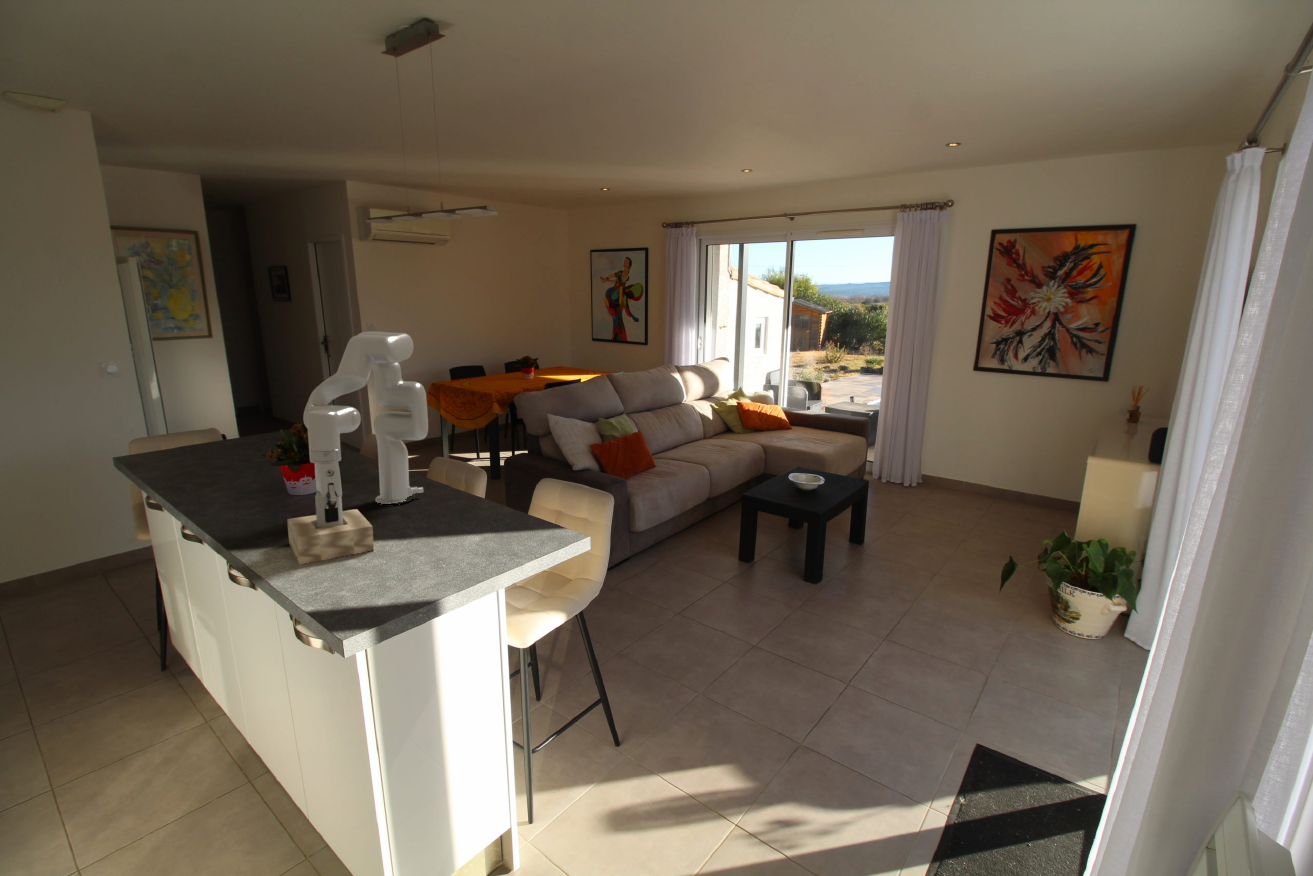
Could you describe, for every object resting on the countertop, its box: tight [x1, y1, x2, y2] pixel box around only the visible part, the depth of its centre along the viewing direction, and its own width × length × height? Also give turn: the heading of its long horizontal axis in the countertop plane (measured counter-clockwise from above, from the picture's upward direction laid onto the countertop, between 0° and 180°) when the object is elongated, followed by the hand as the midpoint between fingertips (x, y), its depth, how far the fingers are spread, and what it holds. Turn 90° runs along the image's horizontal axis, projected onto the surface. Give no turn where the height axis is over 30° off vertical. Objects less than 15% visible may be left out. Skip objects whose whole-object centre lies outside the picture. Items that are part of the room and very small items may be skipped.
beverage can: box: [314, 490, 343, 529], centre depth 168 cm, size 6×6×12 cm
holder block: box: [286, 508, 374, 565], centre depth 170 cm, size 18×18×7 cm
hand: (329, 517), depth 169 cm, fingers closed on beverage can, 5 cm apart
